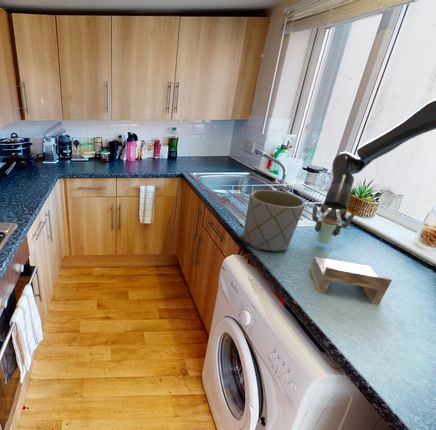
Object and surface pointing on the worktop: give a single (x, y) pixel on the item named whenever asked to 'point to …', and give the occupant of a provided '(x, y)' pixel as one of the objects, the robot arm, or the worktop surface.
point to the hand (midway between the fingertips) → (326, 233)
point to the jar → (326, 230)
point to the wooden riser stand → (348, 277)
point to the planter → (272, 219)
